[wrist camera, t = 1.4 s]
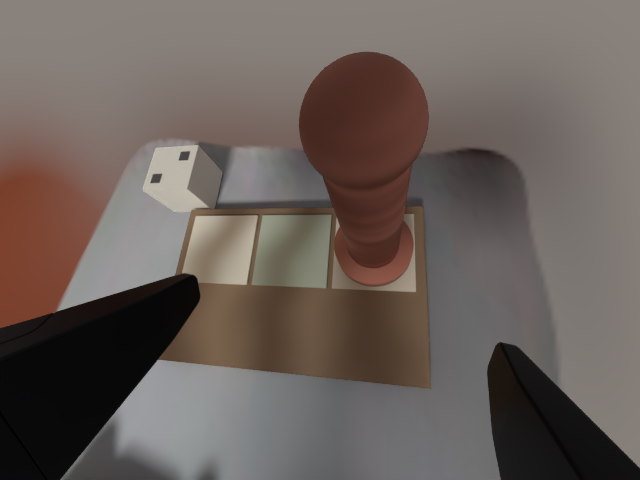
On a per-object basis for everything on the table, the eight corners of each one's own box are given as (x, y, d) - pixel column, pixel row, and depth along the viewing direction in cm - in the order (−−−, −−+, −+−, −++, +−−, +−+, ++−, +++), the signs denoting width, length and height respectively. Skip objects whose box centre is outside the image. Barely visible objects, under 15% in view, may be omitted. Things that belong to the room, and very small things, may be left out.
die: (222, 172, 28) (198, 144, 24) (214, 211, 26) (186, 188, 23) (184, 174, 29) (155, 147, 25) (174, 212, 27) (141, 189, 23)
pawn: (428, 251, 20) (516, 54, 7) (372, 302, 20) (350, 199, 6) (374, 203, 22) (361, -21, 9) (322, 249, 22) (226, 86, 8)
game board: (421, 212, 23) (423, 205, 22) (428, 386, 19) (431, 389, 17) (198, 214, 27) (190, 208, 26) (163, 358, 23) (152, 359, 21)
